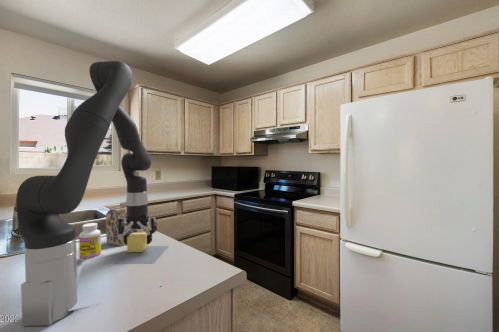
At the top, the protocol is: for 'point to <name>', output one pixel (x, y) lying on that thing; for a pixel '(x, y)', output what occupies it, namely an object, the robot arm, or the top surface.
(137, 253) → the plate
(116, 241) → the decorative jar
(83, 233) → the supplement bottle
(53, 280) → the robot arm
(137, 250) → the yellow cube
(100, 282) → the top surface
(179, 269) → the top surface
